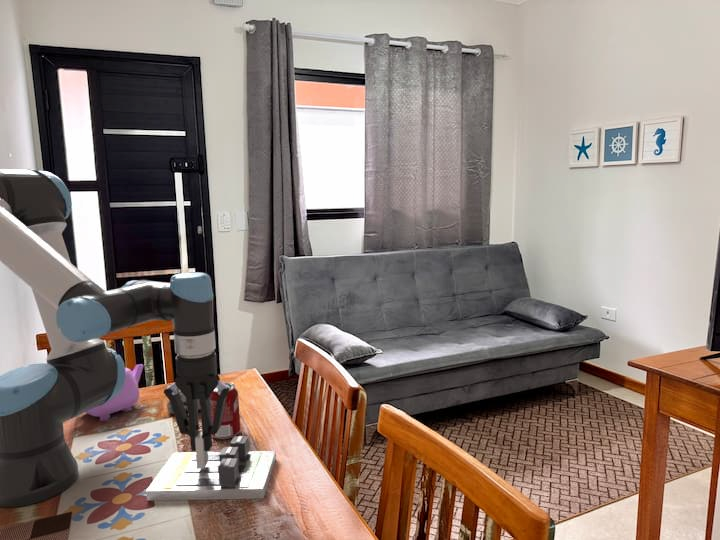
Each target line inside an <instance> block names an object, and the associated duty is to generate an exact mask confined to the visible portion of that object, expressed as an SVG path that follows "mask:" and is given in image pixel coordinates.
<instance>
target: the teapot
mask: <svg viewBox="0 0 720 540" xmlns="http://www.w3.org/2000/svg"><path fill="white" fill-rule="evenodd" d="M125 369H126V380H125V384H124V386H123V387H122V390H121V392H120V393H119V394H118V395H117V396H116V397H115V398H113V399H111V400H109V401H108V402H107V403H105V404H104V405H102V406H98V407H95V408H93V409H91V410H89V411H87V412H84V414H87V415H90V416H92V417H99V421H107V420H109V419H110V418H111V414H114V413H116V412H119V411H122V412H126V413H127V412H130V411H132V410H133V407H132V406H133V405H136V404H137V403H138V401H139V398H140V390H139V382H140V380H141V375H142V372H143V369H144V364H142V363H140V364H135V367H134V368H133V370H131V369H130V368H129V367H126V366H125Z"/></svg>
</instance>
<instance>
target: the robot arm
mask: <svg viewBox="0 0 720 540" xmlns="http://www.w3.org/2000/svg"><path fill="white" fill-rule="evenodd" d="M72 203H73V202H72V197H71V194H70V190H69V189H68V187H67V185H66V184H65V183H64V181H63V180H62V179H61V178H59V176H57V175H55V174H54V173H52V172H49V171H46V170H37V169H32V168H26V169H15V168H13V169H10V168H9V169H8V168H0V262H1V263H2V264H3V265H4V266H6V267H7V268H8V269H9V270H10V271H11V272H12V273H14V274H15V275H16V276H17V277H18V278H19V279H21V280H22V281H23V282H25V283H24V284H26V285H28V286H29V287H30V288H31V291H32V293H33V297H34V299H35V303H36V306H37V310H38V312H39V315H40V318H41V321H42V324H43V327H44V330H45V334H46V337H47V339H48V343H49V346H50V352H49V353H48V355H47V356H46V358H45V361H46V363H43V362H42V363H32V364H29V365H27V366H20V367H17V368H13V369H12V370H9V371H7V372H5V373H3V374H1V375H0V508H1V507H2V508H18V507H25V506H29V505H33V504H37V503H40V502H43V501H45V500H48V499H50V498H53V497H55V496H57V495H59V494H60V493H63V492H64V491H65V490H67V489H68V488H70V487H71V486H72V485H73V484H74V483H75V482H76V481H77V479H78V478H79V475H80V473H79V465H78V462H77V459H75V457H74V455H73V453H72V451H71V449H70V448H69V447H70V446H69V445H68V443H67V442H66V439H65V433H64V423H65V422H67V421H70V420H72V419H74V418H77V417H78V416H80V415H82V414H85V412H87V411H89V410H91V409H93V408H95V407H98V406H102V405H104V404H105V403H107V402H108V401H109V400H111V399H113V398H115V397H116V396H117V395H118V394H119V393H120V392H121V390H122V387H123V386H124V384H125V380H126V369H125V367H126V366H125V365H126V364H125V362H124V360H123V358H122V356H121V355H120V354H118V353H117V351H116V350H114V349H112V348H109V347H107V346H106V343H105V341H104V340H102V339H100V338H103V337H104V336H107V335H109V334H112V333H115V332H118V331H121V330H124V329H129V328H131V327H134V326H137V325H141V324H143V323H146V322H147V323H148V322H150V321H164V322H165V321H167V322H172V327H173V341H174V353H175V354H177V355H176V356H175V367H176V368H175V371H176V372H175V373H176V378H175V379H174V383H172V384H168V386H167V387H165V389H164V390H163V393H164V394H163V395H165V397H166V398H167V399H168V400H169V401H170V403H171V406H172V409H173V412H174V413H173V415H174V418H175V421H176V424H177V427H178V430H179V433H180V434H181V435H187V436H189V438H190V450H191V452H196V461H197V468H205V466H206V465H207V463H208V452H211V451H210V450H211V449H212V447H213V436H212V434H216V433H217V432H218V430H219V428H220V426H221V422H222V417H223V412H224V407H225V402H226V397H227V394H228V392H229V391H230V389H231V387H232V386H231V384H227V385H226V384H224V383H225V382H223V381H221V377H220V376H219V375H218V370H217V369H218V365H217V352H216V351H215V350H216V348H217V347H216V345H217V344H216V331H215V324H214V298H215V297H214V292H213V287H212V285H213V284H212V278H211V276H210V275H209V274H208V273H206V272H201V271H200V272H199V271H197V272H192V271H191V272H181V273H176V274H174V275H172V276H171V278H170V281H169V282H166V281H165V282H164V281H155V280H149V279H139V280H138V279H137V280H135V279H133V280H130V281H129V280H128V281H127V282H126V283H125V284H124V285H122V286H121V287H118V288H115V289H110V290H104V289H103V288H102V287H101V286H100V285H98V284H97V283H95V282H94V281H93V280H92V279H91V278H90V277H88V276H87V275H86V274H84V273H83V272H82V271H81V270H80V269H78V268H77V267H76V266H75V265H74V264H73V263H72V262H71V260H70V259H71V258H70V256H69V252H68V250H67V246H66V243H65V240H64V237H63V232H64V231H65V229H66V227H67V225H68V224H67V221H66V219H68V217H69V216H70V215H71V212H72V209H71V208H70V207H72ZM216 387H217V388H218V391H217V393H218V394H219V397H218V400H217V405H216V410H215V415H214V420H213V425H212V422H211V405H210V398H211V394H212V392H213V391H214V389H215V388H216ZM180 391H181V392H182V393H183V394H184V396H185V397H186V404H187V408H188V411H186V412H187V413H186V412H185V409H184V406H183V403H182V399H181V396H180V394H179V392H180ZM197 399H199V403H200V406H201V410H200V417H201V418H200V419H201V421H200V422H201V426H200V423H199V410H198V403H197ZM200 429H201V431H200Z"/></svg>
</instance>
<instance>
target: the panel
mask: <svg viewBox="0 0 720 540" xmlns="http://www.w3.org/2000/svg"><path fill="white" fill-rule="evenodd" d="M220 453H221V451H208V463H207V465H206V466H205V468H197V461H196V451H193V452H173V453H172V455H171V456H170V457H169V459H168V460H167V462H165V465H164V466H163V467H162V468H161V469H160V471H159V473H157V476H155V478H154V480H153V481H152V482H151V483H150V485H149V486H148V488H147V489H146V491H145V492H146V501H149V502H151V501H159V502H160V501H196V500H197V501H201V500H203V501H204V500H206V501H207V500H259V499H260V500H261V499H265V495H266V492H267V489H268V486H269V482H270V480H271V477H272V473H273V470H274V468H275V464H276V461H277V454H276V453H277V451H276V450H262V451H261V450H253V451H252V450H251V451H250V450H249V453H248V455H247V457H246V459H239V465H238V471H239V476H238V478H237V480H236V483H235V484H219V474H218V466H219V464H220V456H219V455H220Z"/></svg>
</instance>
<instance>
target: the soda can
mask: <svg viewBox="0 0 720 540" xmlns="http://www.w3.org/2000/svg"><path fill="white" fill-rule="evenodd" d="M223 383H224V384H226V385H227V384H231V386H232V387H231V389H230V391H229V392H228V394H227V397H226V402H225V407H224V412H223V417H222V422H221V426H220V428H219V430H218V432H217V433H216V434H212V438H215V439H219V440H229V439H233V437H234V436H237V435H238V434H239V433H241V418H240V402H239V391H238V390H237V388H236V386H235V385H236V384H235V383H233V382H223ZM217 391H218V388H217V387H216V388H215V389H214V391H213V392H212V394H211V398H210V405H211V422H212V425H213V420H214V415H215V410H216V405H217V400H218V397H219V394H218V393H217Z"/></svg>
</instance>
